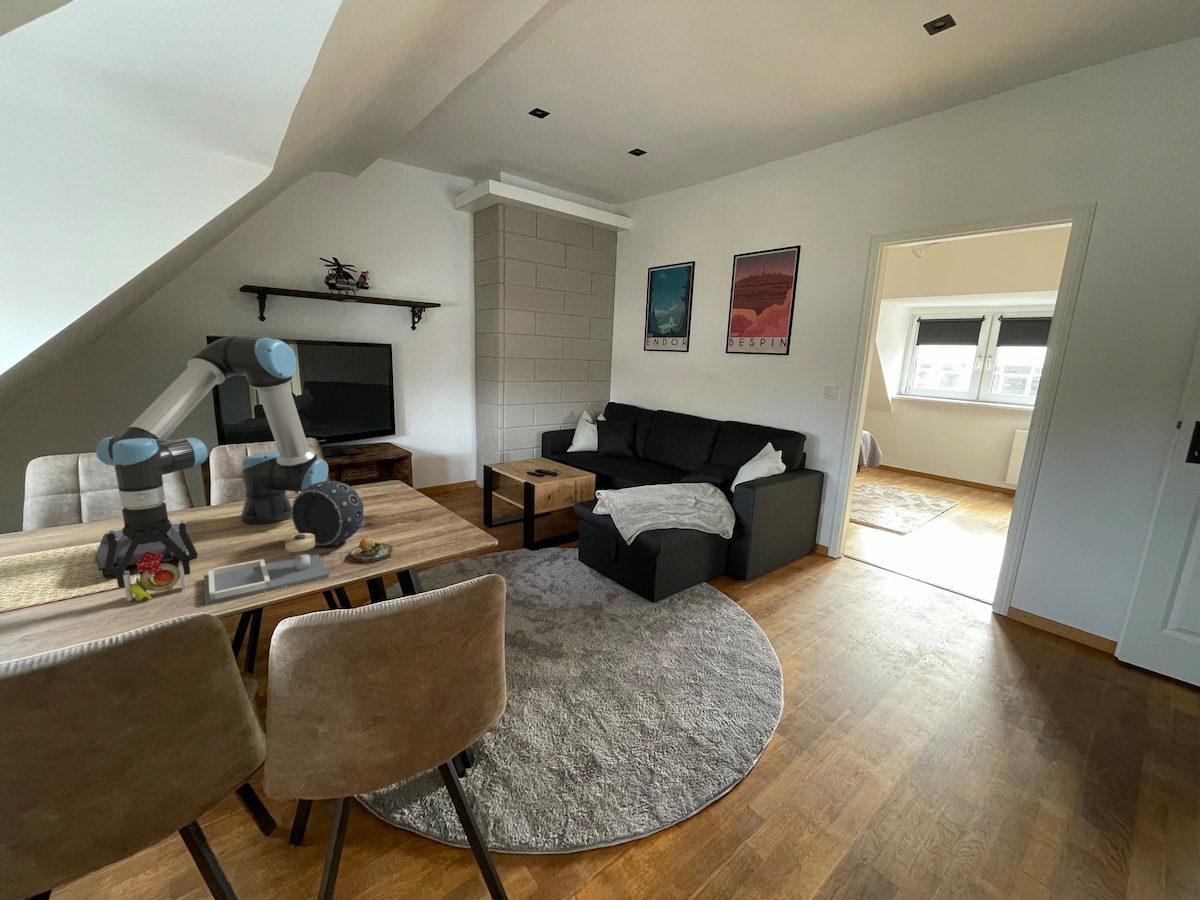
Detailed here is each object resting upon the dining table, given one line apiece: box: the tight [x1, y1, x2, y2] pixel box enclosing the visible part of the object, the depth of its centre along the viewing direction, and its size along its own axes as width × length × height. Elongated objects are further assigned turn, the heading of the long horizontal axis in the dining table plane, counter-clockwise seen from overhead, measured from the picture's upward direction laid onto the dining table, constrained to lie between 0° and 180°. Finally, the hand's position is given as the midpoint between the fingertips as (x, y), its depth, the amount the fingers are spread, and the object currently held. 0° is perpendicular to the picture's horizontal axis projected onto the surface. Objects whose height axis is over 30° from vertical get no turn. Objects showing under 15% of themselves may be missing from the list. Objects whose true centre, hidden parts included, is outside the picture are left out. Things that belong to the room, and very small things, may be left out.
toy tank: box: [94, 522, 188, 578], centre depth 134 cm, size 18×25×15 cm
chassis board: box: [203, 552, 330, 606], centre depth 127 cm, size 16×26×4 cm, turn 129°
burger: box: [348, 535, 393, 564], centre depth 144 cm, size 12×12×8 cm
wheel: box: [284, 533, 317, 553], centre depth 131 cm, size 7×7×3 cm
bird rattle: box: [129, 552, 180, 601], centre depth 116 cm, size 6×11×9 cm
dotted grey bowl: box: [291, 480, 365, 547], centre depth 150 cm, size 11×20×20 cm, turn 78°
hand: (157, 592), depth 117 cm, fingers closed on bird rattle, 9 cm apart
